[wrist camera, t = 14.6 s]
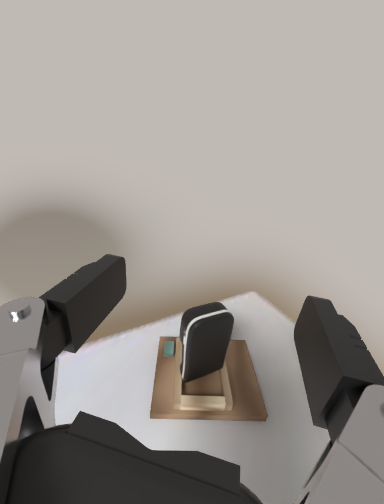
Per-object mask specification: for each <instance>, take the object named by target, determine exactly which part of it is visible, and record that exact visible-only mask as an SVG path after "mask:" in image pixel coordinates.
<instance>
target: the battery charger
mask: <svg viewBox="0 0 384 504" xmlns="http://www.w3.org/2000/svg"><path fill="white" fill-rule="evenodd" d="M233 323H234V318H233V316H232V313H231V312H230V311H229V310H227V309H226V307H225V306H224V305H223V304H221V303H219V302H213V303H209V304H205V305H201V306H197V307H193V308H190V309H188V310H186V311H185V313H184V314H183V316H182V320H181V327H180V340H181V342H182V344H183V350H182V362H181V364H180V372H181V375H182V379H183V380H184V381H185V382H186V383H187V382H190V381H193V380H195V379H198V378H200V377H203V376H205V375H208V374H210V373H213V372H215V371H217V370H220V369H222V368H223V364H224V360H225V355H226V352H227V348H228V345H229V341H230V337H231V333H232V329H233Z"/></svg>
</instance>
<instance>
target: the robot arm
mask: <svg viewBox="0 0 384 504" xmlns="http://www.w3.org/2000/svg"><path fill="white" fill-rule="evenodd" d="M125 291H126V264H125V259H124V258H123V257H120V256H115V255H110V254H106V255H105V256H103V257H102V258H101V259H99V260H98V261H97V262H93V263H91V264H88V265H85V266H83V267H81V268H80V269H79V270H77V271H76V272H75V273H74V274H71V275H70V276H69V277H67V279H64V280H63V281H62V282H60V283H59V284H58V285H56V286H54V287H53V288H52V289H50V290H49V291H47V292H46V293H45V294H43V295H42V296H41V297H39V298H37V297H24V298H19V299H15V300H12V301H10V302H8V303H6V304H4V305H2V306H1V307H0V504H263V503H262V502H261V501H260V500H259V498H258V497H257V496H256V495H255V494H253V493H252V492H251V491H250V490H249V489H248V488H247V487H246V486H244V485H243V484H242V483H240V466H239V465H236V464H233V463H230V462H228V461H225V460H222V459H219V458H216V457H213V456H210V455H207V454H204V453H201V452H198V451H158V450H151V449H148V448H147V447H145V446H144V445H143V444H142V443H140V442H139V441H138V440H137V439H135V438H134V437H133V436H131V435H130V434H129V433H128V432H126V431H125V430H124V429H122V428H121V427H120V426H119V425H117V424H116V423H114V422H111V421H108V420H105V419H102V418H99V417H96V416H93V415H90V414H87V413H85V412H82V411H80V412H79V413H78V415H77V416H76V418H75V420H74V421H73V423H72V424H64V425H58V426H56V424H55V413H54V409H55V396H56V386H57V375H58V364H59V359H58V355H59V354H60V353H61V352H62V351H63V350H65V351H68V352H72V353H76V352H77V351H78V349H79V348H80V347H81V346H82V345H83V344H84V342H85V341H86V340H87V339H88V338H89V336H90V335H91V334H92V333H93V332H94V331H95V329H96V328H97V327H98V326H99V325H100V323H101V322H102V321H103V320H104V319H105V318H106V317H107V315H108V314H109V313H110V312H111V311H112V310H113V308H114V307H115V306H116V305H117V304H118V302H119V301H120V300H121V299H122V298H123V296H124V294H125ZM294 341H295V345H296V350H297V354H298V359H299V363H300V367H301V372H302V376H303V381H304V385H305V389H306V394H307V398H308V403H309V407H310V412H311V416H312V420H313V425H315V426H318V427H322V428H325V429H328V431H329V435H330V440H329V442H328V443H327V445H326V447H325V448H324V450H323V452H322V454H321V456H320V457H319V459H318V461H317V463H316V465H315V466H314V468H313V470H312V472H311V473H310V475H309V477H308V479H307V481H306V482H305V484H304V486H303V488H302V490H301V491H300V493H299V495H298V496H297V498H296V500H295V501H294V503H293V504H384V376H383V375H382V373H381V371H380V369H379V368H378V366H377V364H376V363H375V361H374V359H373V357H372V356H371V354H370V352H369V351H368V350H367V347H366V345H365V344H364V342H363V340H361V337H360V335H359V334H358V332H357V330H356V328H355V326H354V325H352V324H351V323H350V322H349V321H348V320H347V319H346V318H345V317H344V316H343V315H338V314H337V312H336V310H335V308H334V306H333V304H332V302H331V301H330V300H328V299H323V298H318V297H313V296H307V298H306V299H305V302H304V304H303V307H302V309H301V312H300V314H299V317H298V319H297V322H296V324H295V329H294Z"/></svg>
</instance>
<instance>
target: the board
mask: <svg viewBox="0 0 384 504" xmlns="http://www.w3.org/2000/svg"><path fill="white" fill-rule="evenodd" d="M182 350H183V344H182V342H181V340H180V337H160V341H159V349H158V357H157V364H156V372H155V380H154V388H153V395H152V403H151V411H150V418H155V419H200V420H246V421H266V419H267V412H266V409H265V406H264V402H263V399H262V396H261V392H260V389H259V386H258V382H257V379H256V376H255V372H254V369H253V366H252V362H251V359H250V356H249V352H248V349H247V345H246V342H245V340H230V341H229V345H228V348H227V352H226V355H225V360H224V364H223V368H222V369H220V370H217V371H215V372H213V373H210V374H208V375H205V376H203V377H200V378H198V379H195V380H193V381H190V382H187V383H186V382H185V381H184V380H183V379H182V375H181V372H180V364H181V362H182Z"/></svg>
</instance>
